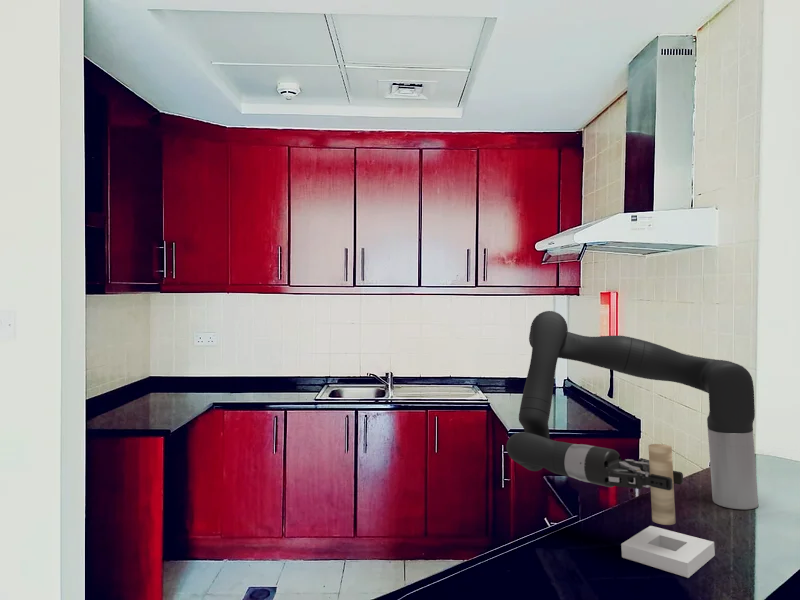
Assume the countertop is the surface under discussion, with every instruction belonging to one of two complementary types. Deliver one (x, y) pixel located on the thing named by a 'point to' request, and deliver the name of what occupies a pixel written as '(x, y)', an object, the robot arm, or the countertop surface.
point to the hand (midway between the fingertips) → (676, 481)
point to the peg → (659, 497)
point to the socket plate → (668, 550)
